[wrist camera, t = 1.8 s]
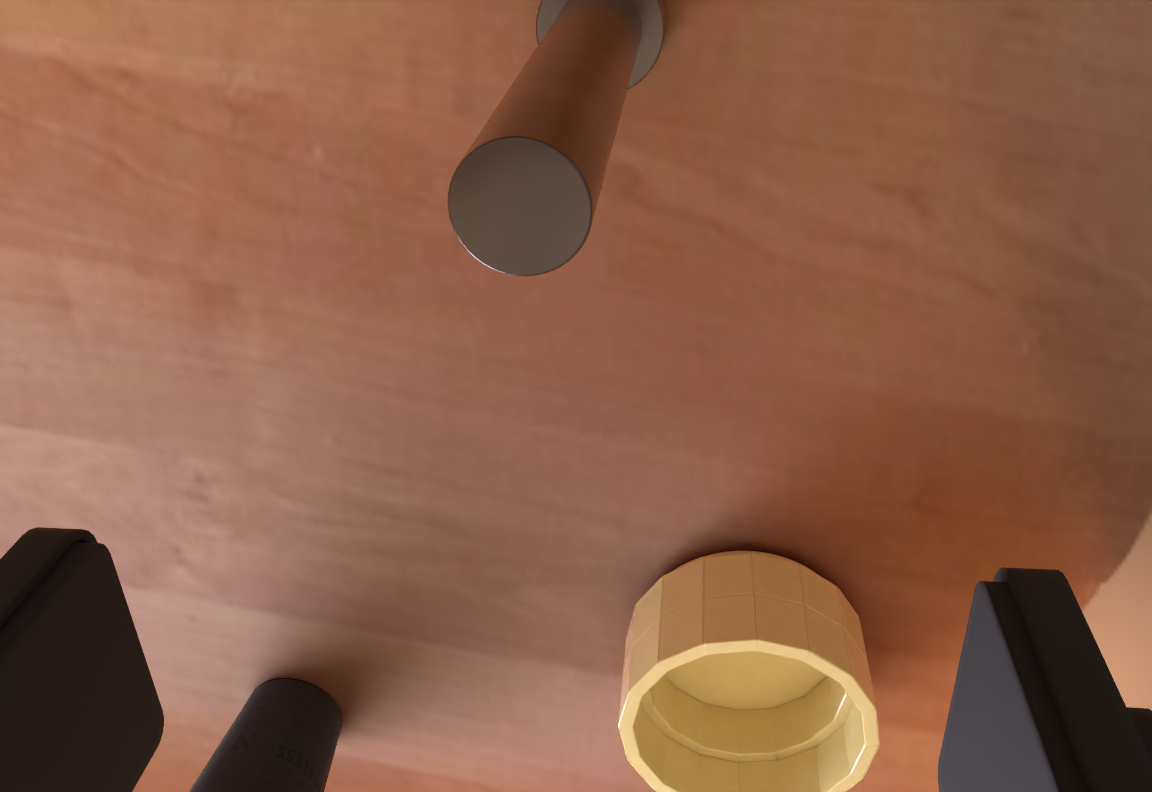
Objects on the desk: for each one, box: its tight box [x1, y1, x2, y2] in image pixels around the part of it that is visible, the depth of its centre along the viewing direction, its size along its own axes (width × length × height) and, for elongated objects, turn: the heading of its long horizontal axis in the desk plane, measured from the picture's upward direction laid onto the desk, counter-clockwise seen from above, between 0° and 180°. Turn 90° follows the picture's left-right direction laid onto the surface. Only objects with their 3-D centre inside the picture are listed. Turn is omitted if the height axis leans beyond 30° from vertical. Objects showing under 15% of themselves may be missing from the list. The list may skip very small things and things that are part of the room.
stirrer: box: [448, 0, 666, 276], centre depth 26 cm, size 4×4×18 cm
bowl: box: [618, 551, 880, 792], centre depth 44 cm, size 10×10×6 cm
